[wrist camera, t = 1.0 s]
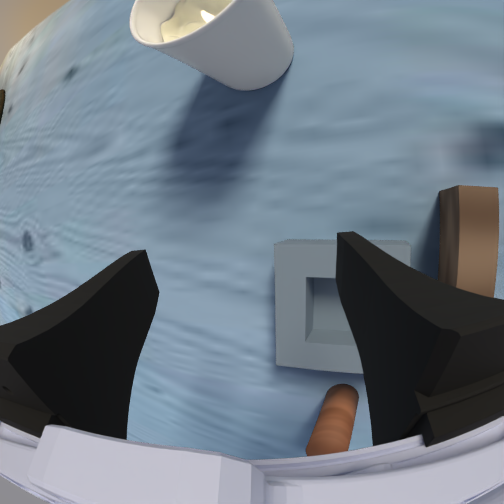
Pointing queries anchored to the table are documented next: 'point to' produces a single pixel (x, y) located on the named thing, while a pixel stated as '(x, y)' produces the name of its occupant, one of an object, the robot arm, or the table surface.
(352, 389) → the dowel
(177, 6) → the candle holder
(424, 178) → the table surface
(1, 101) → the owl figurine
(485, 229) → the walnut wall
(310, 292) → the socket block
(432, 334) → the robot arm
